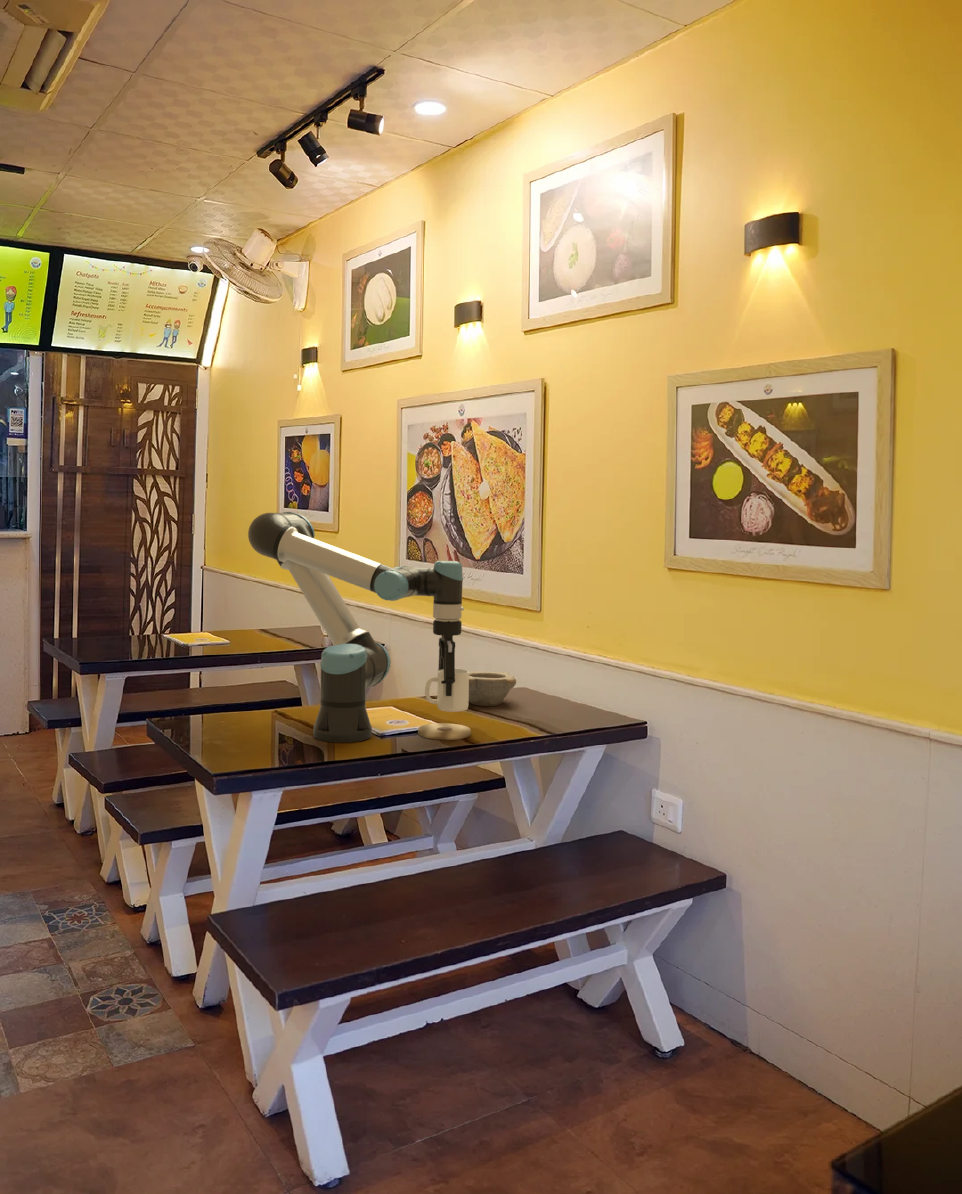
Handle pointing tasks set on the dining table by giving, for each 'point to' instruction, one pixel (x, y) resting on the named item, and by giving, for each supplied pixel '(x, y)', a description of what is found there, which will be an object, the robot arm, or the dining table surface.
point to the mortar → (489, 687)
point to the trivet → (444, 731)
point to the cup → (458, 695)
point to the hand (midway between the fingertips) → (445, 704)
